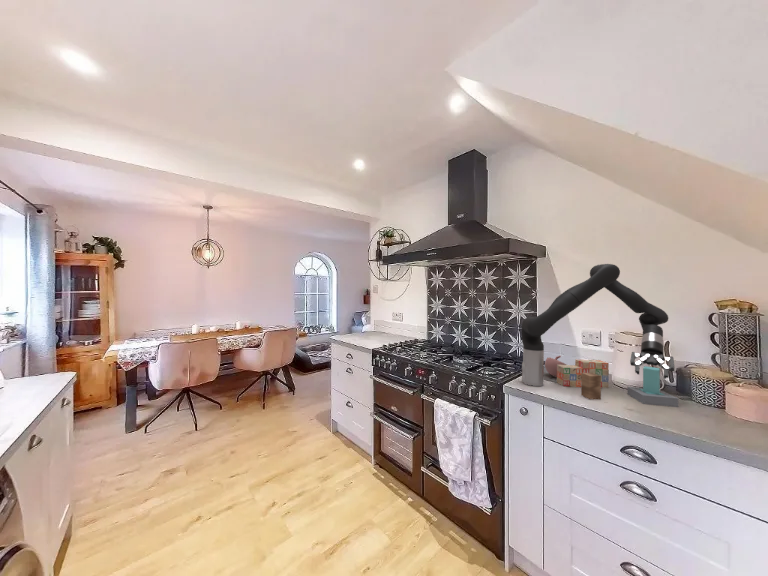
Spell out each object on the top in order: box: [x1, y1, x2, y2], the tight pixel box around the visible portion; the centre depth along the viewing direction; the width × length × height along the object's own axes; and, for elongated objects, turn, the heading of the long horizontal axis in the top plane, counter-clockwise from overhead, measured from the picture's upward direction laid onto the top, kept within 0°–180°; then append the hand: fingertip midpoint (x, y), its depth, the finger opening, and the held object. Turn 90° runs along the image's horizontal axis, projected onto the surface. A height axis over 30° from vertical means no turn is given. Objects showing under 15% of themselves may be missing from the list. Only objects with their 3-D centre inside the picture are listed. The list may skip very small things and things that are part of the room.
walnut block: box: [580, 373, 602, 400], centre depth 130 cm, size 5×5×10 cm
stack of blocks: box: [556, 358, 610, 389], centre depth 147 cm, size 21×6×12 cm, turn 86°
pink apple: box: [544, 355, 568, 378], centre depth 161 cm, size 12×12×12 cm
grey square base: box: [626, 386, 679, 408], centre depth 127 cm, size 12×12×4 cm
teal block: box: [642, 365, 661, 394], centre depth 127 cm, size 5×5×10 cm
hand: (651, 375), depth 126 cm, fingers open, 8 cm apart
